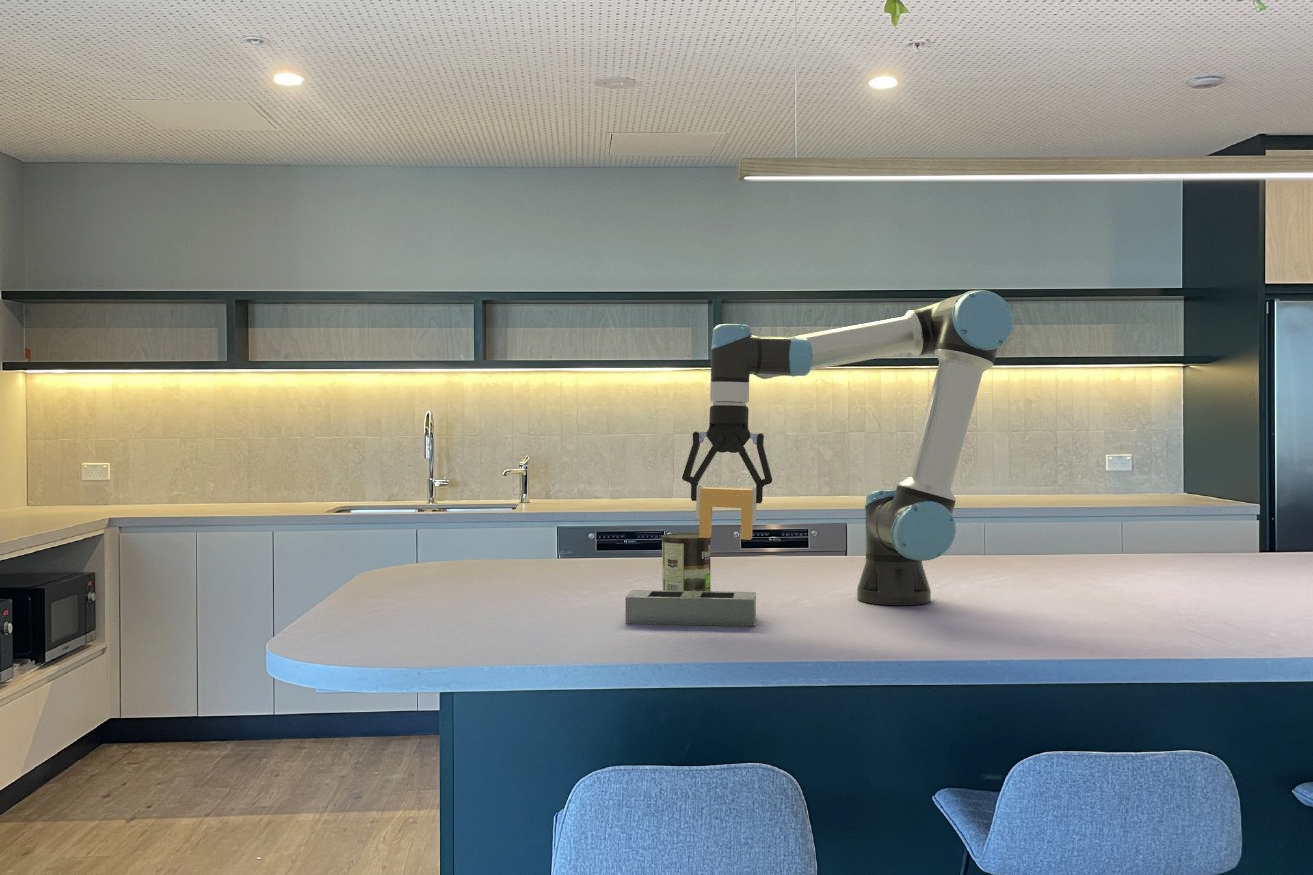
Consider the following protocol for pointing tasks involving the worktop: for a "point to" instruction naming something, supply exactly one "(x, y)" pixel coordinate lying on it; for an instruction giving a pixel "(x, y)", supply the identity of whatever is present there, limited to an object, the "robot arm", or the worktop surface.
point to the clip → (729, 500)
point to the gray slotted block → (691, 608)
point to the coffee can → (686, 562)
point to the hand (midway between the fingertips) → (726, 519)
